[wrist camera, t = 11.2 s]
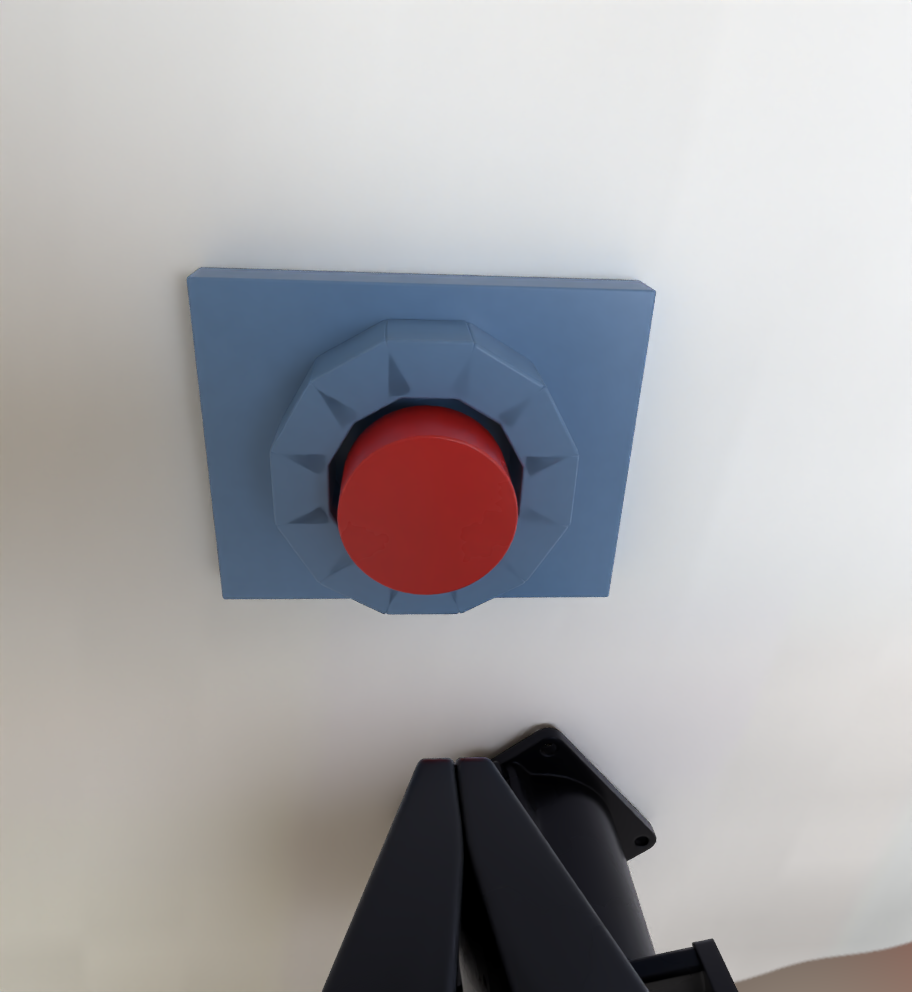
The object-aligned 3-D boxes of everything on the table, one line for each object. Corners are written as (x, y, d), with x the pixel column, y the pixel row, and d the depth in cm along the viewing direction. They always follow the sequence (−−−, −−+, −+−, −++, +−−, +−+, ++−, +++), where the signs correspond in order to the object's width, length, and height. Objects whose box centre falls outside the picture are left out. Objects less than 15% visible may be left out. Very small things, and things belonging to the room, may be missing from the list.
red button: (513, 405, 16) (526, 436, 14) (500, 552, 17) (511, 595, 16) (340, 403, 16) (334, 434, 14) (344, 553, 17) (339, 596, 16)
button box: (641, 280, 17) (686, 308, 15) (597, 573, 21) (627, 639, 18) (199, 266, 17) (161, 295, 14) (231, 574, 20) (206, 644, 17)
